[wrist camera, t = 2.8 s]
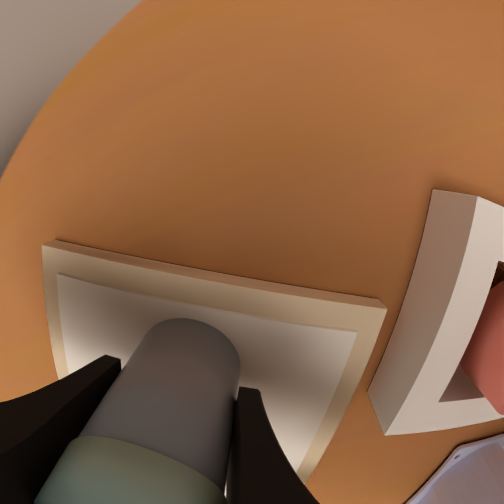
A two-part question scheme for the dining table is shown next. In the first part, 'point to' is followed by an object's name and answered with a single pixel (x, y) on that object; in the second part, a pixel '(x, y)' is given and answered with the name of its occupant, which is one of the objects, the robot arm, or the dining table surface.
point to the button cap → (488, 350)
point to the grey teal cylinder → (157, 425)
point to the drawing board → (227, 322)
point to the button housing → (441, 321)
